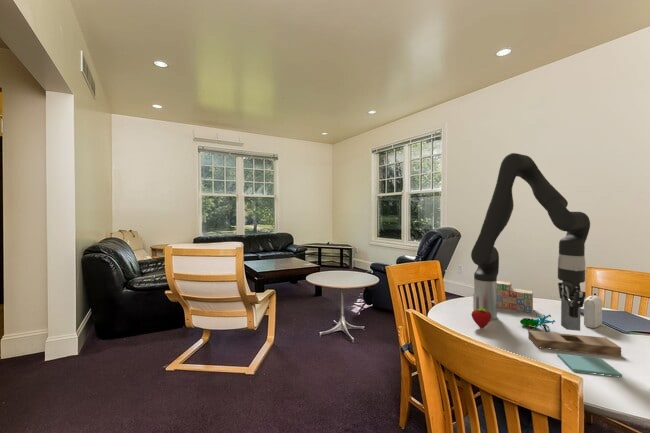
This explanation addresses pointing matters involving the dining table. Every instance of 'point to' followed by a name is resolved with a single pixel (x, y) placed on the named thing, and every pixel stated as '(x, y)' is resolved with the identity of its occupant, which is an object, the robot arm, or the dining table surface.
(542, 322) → the stick construction toy
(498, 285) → the stack of blocks
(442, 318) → the dining table surface
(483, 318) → the strawberry
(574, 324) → the steel plug
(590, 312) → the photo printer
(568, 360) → the teal pad
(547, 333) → the brown slotted block
